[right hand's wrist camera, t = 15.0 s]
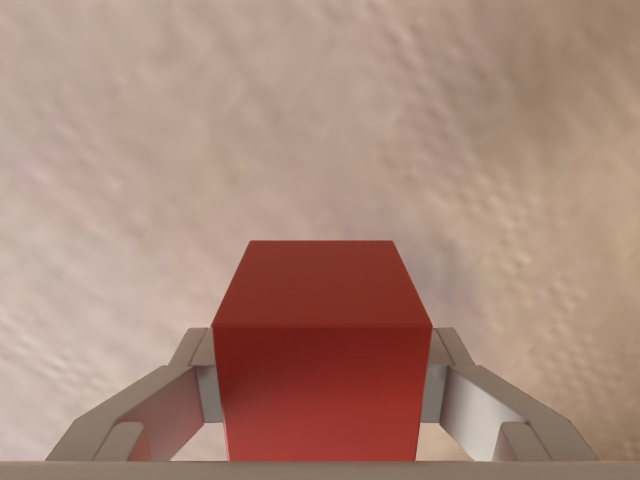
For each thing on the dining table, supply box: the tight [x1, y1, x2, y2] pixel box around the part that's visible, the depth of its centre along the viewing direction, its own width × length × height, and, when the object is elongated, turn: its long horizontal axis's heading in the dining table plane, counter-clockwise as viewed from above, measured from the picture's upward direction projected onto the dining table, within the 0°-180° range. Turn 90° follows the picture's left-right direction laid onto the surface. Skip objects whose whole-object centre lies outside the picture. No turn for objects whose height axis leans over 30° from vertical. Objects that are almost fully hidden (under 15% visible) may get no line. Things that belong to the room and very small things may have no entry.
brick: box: [211, 241, 433, 461], centre depth 10 cm, size 5×4×4 cm
